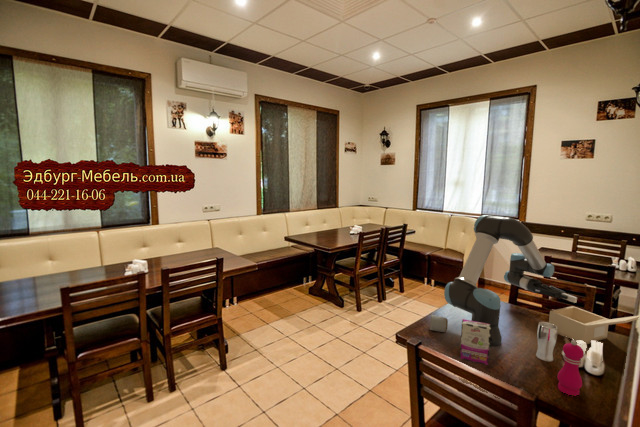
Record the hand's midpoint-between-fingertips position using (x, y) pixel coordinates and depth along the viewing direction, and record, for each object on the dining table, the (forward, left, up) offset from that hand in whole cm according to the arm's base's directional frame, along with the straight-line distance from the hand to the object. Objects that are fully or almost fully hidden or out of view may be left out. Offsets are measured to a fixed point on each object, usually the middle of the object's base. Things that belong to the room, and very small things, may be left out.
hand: (575, 300), depth 158 cm
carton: (-2, -3, -16) cm, 17 cm away
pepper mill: (-55, -20, -16) cm, 61 cm away
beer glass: (-39, -5, -16) cm, 43 cm away
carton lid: (-5, -17, -2) cm, 18 cm away
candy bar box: (-67, +10, -17) cm, 70 cm away
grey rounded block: (-59, +36, -17) cm, 71 cm away
